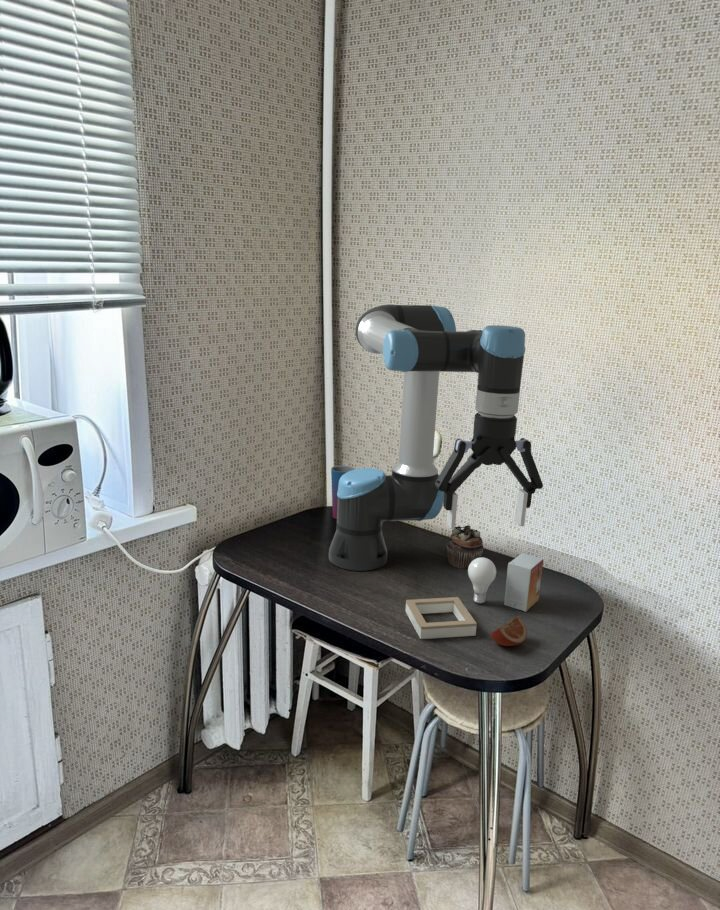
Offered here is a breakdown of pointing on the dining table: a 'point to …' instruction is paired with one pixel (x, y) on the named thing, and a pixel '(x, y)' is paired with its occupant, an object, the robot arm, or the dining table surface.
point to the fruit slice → (510, 633)
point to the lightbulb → (481, 577)
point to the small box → (523, 582)
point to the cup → (336, 475)
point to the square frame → (440, 629)
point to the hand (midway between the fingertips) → (485, 525)
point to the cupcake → (464, 546)
